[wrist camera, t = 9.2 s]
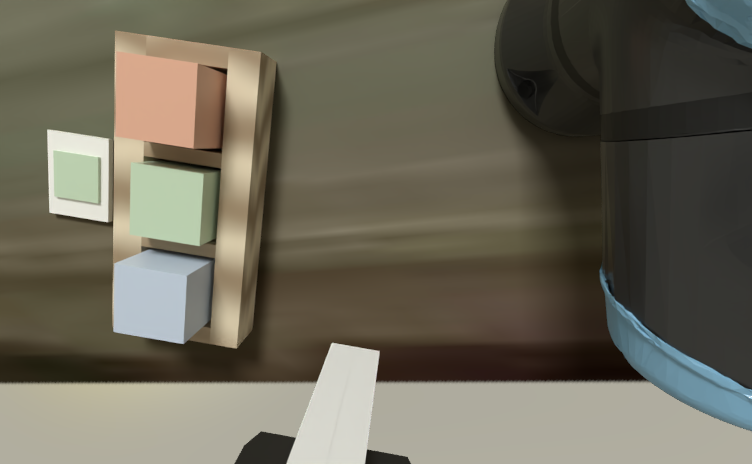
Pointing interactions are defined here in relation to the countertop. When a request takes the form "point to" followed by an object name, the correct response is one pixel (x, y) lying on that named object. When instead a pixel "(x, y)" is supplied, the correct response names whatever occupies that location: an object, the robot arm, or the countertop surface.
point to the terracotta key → (169, 101)
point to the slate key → (163, 295)
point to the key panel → (237, 182)
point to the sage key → (174, 201)
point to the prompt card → (80, 175)
